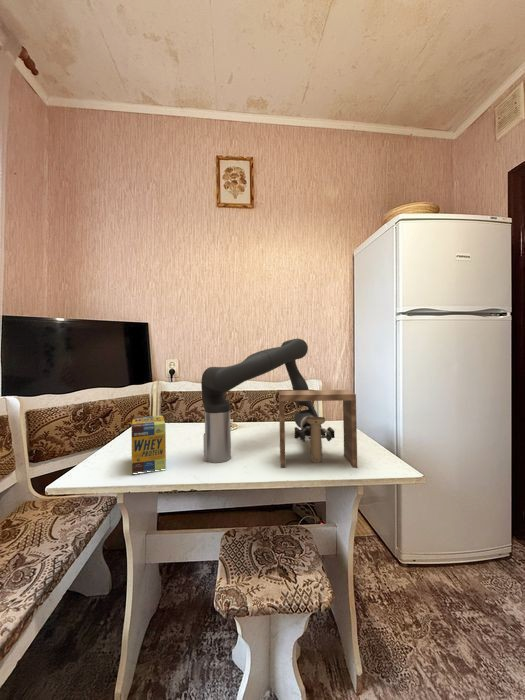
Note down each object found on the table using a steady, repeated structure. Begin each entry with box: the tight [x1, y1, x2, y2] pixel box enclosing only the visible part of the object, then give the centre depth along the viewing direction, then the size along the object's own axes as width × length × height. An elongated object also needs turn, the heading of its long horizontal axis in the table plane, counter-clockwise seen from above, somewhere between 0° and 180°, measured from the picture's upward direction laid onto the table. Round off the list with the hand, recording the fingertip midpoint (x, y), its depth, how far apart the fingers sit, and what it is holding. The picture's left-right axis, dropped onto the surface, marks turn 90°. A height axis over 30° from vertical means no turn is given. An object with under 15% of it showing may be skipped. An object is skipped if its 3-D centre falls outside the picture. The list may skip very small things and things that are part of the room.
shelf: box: [278, 389, 358, 469], centre depth 103 cm, size 25×12×24 cm, turn 88°
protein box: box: [130, 415, 167, 474], centre depth 103 cm, size 10×15×16 cm
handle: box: [306, 416, 326, 463], centre depth 103 cm, size 5×6×15 cm
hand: (316, 438), depth 102 cm, fingers open, 8 cm apart
